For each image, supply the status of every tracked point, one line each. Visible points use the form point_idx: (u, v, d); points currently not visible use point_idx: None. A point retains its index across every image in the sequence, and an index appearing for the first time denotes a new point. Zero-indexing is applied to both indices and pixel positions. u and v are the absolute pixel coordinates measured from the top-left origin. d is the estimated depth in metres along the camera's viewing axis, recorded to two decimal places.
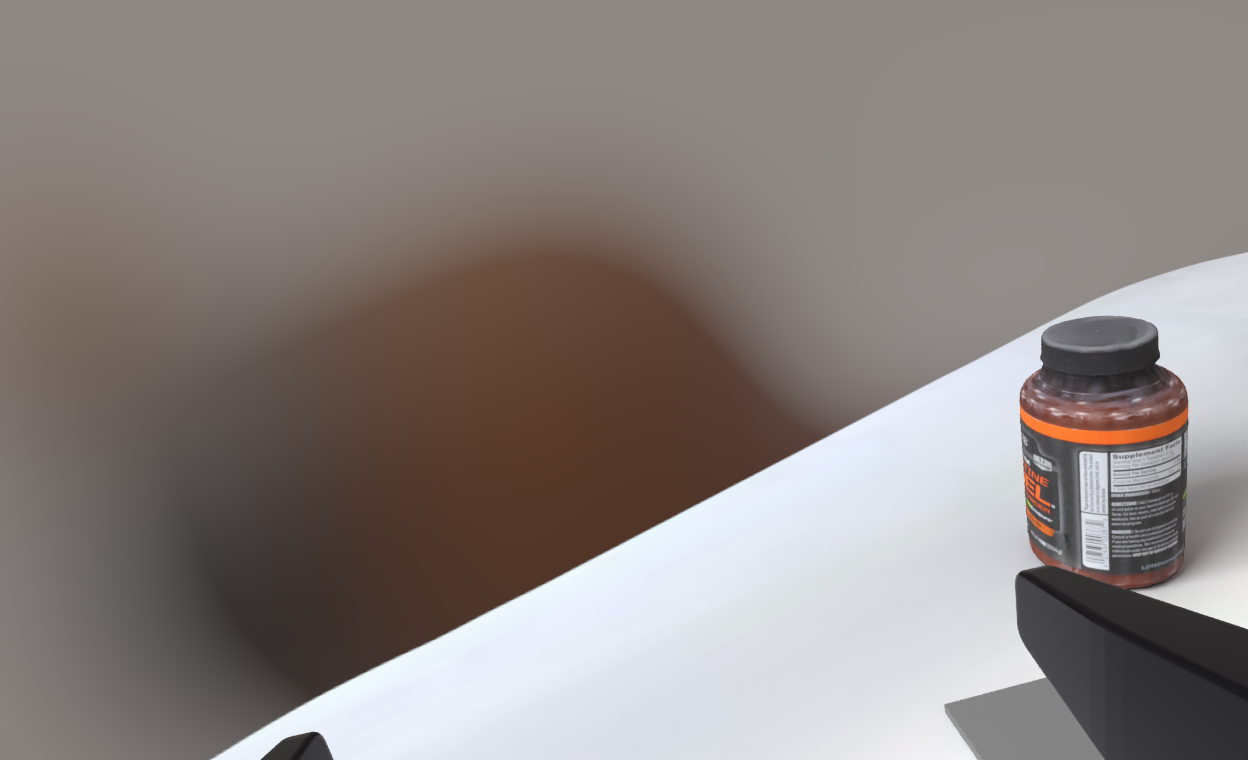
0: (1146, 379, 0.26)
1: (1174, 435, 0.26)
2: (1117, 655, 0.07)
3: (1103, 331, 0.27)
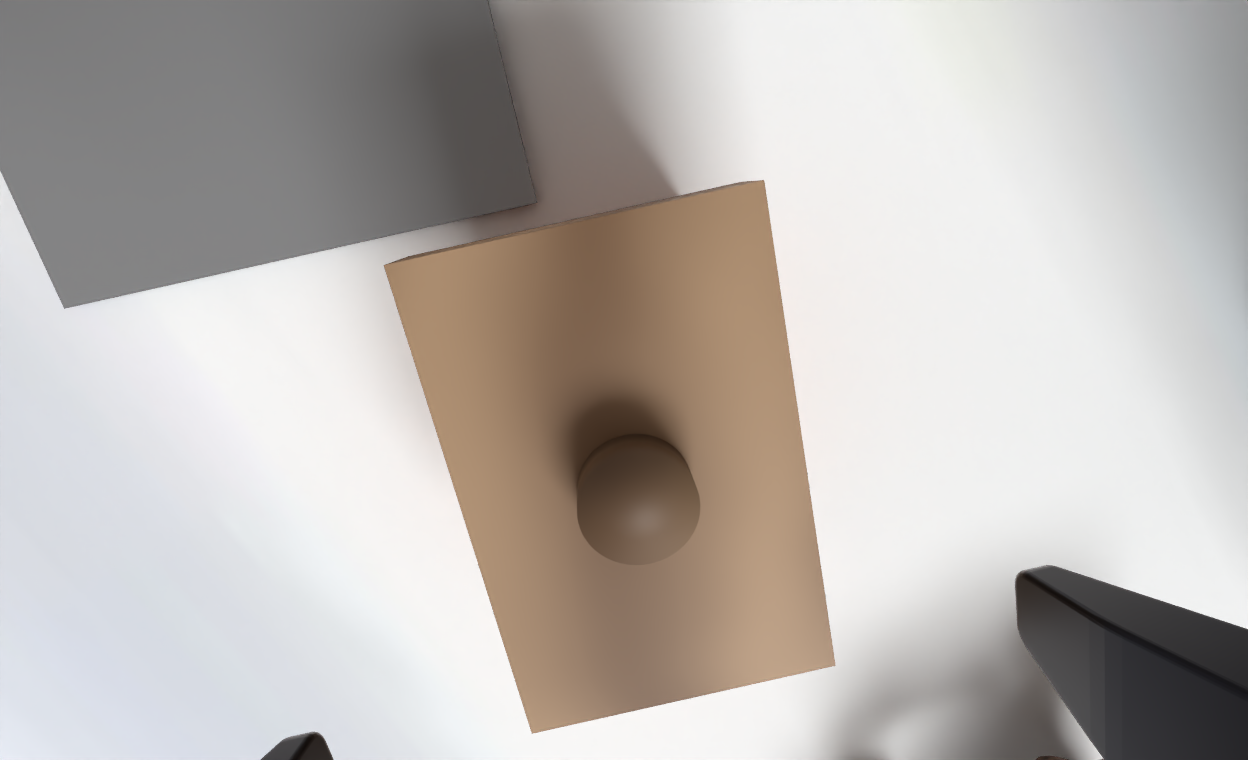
0: None
1: None
2: (1117, 655, 0.07)
3: None
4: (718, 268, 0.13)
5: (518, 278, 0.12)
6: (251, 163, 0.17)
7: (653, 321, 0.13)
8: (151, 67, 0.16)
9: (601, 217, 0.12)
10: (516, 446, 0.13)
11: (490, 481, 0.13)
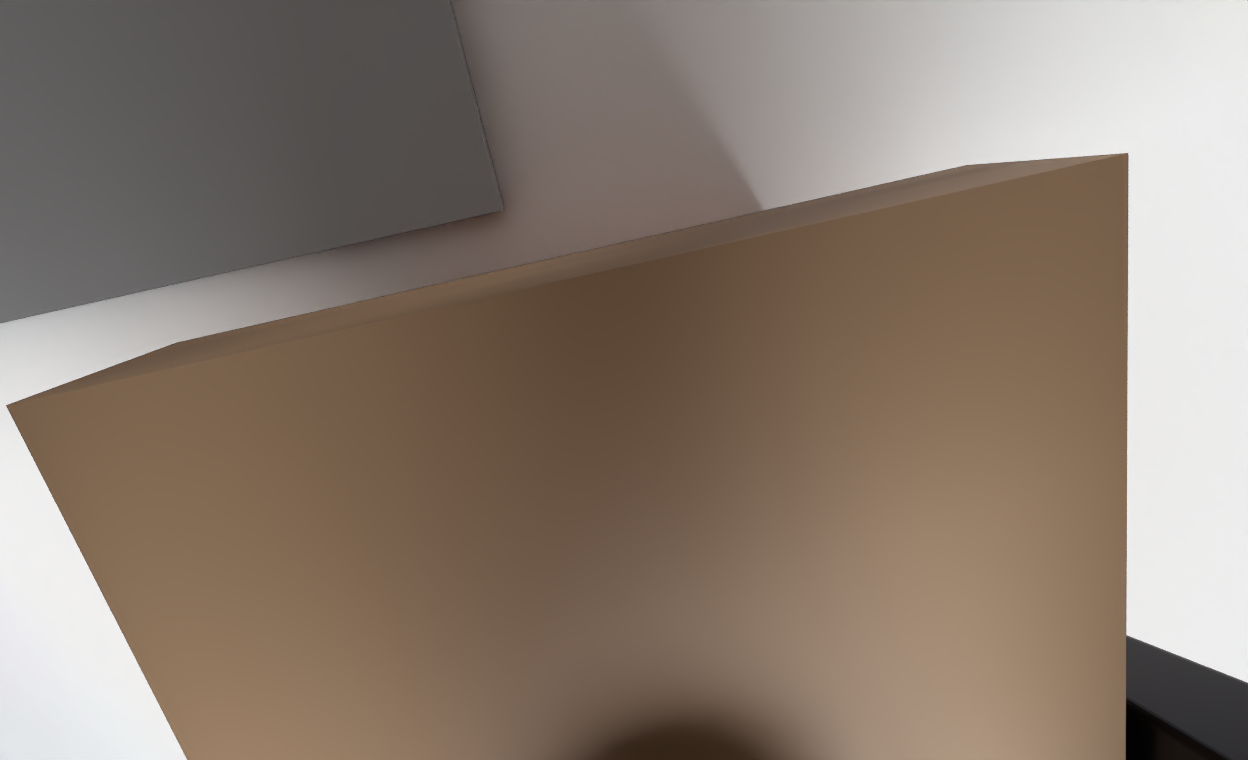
0: None
1: None
2: None
3: None
4: (969, 401, 0.04)
5: (409, 435, 0.04)
6: None
7: (784, 539, 0.05)
8: None
9: (649, 263, 0.04)
10: None
11: None
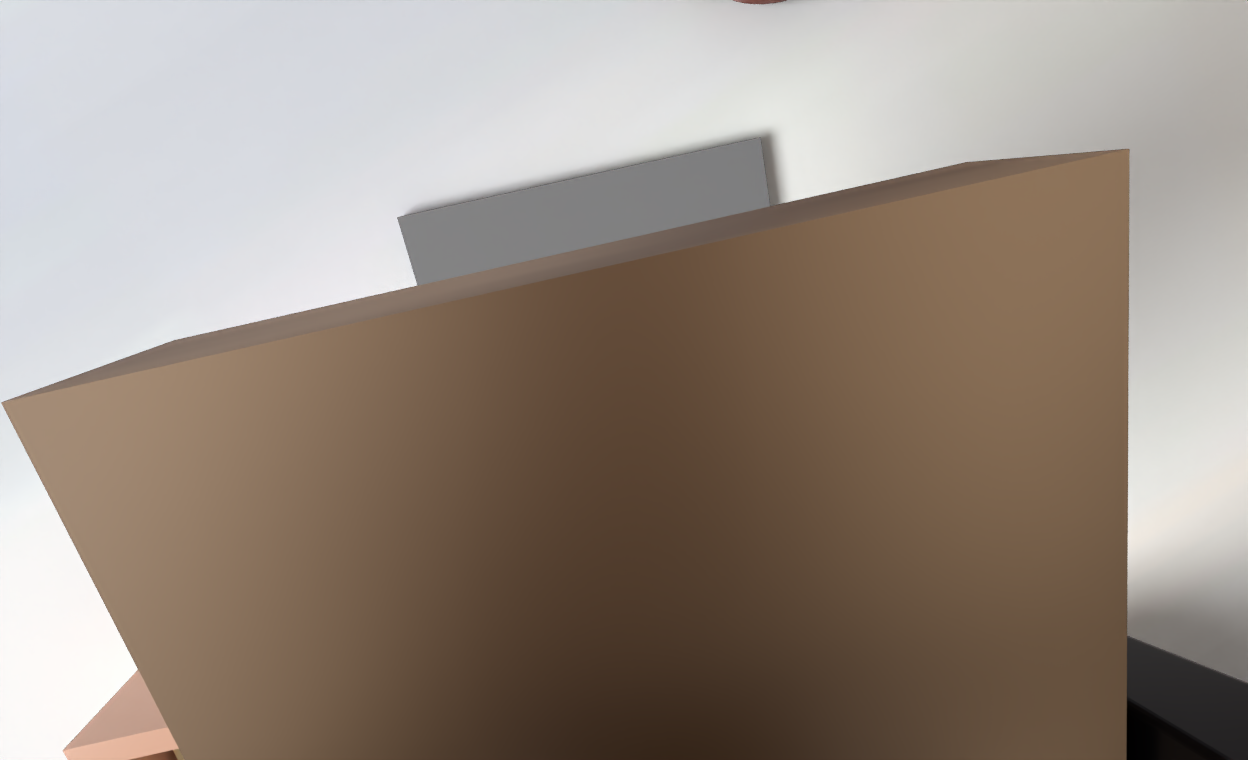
0: None
1: None
2: None
3: None
4: (970, 398, 0.04)
5: (407, 432, 0.04)
6: None
7: (783, 535, 0.05)
8: None
9: (647, 259, 0.04)
10: None
11: None
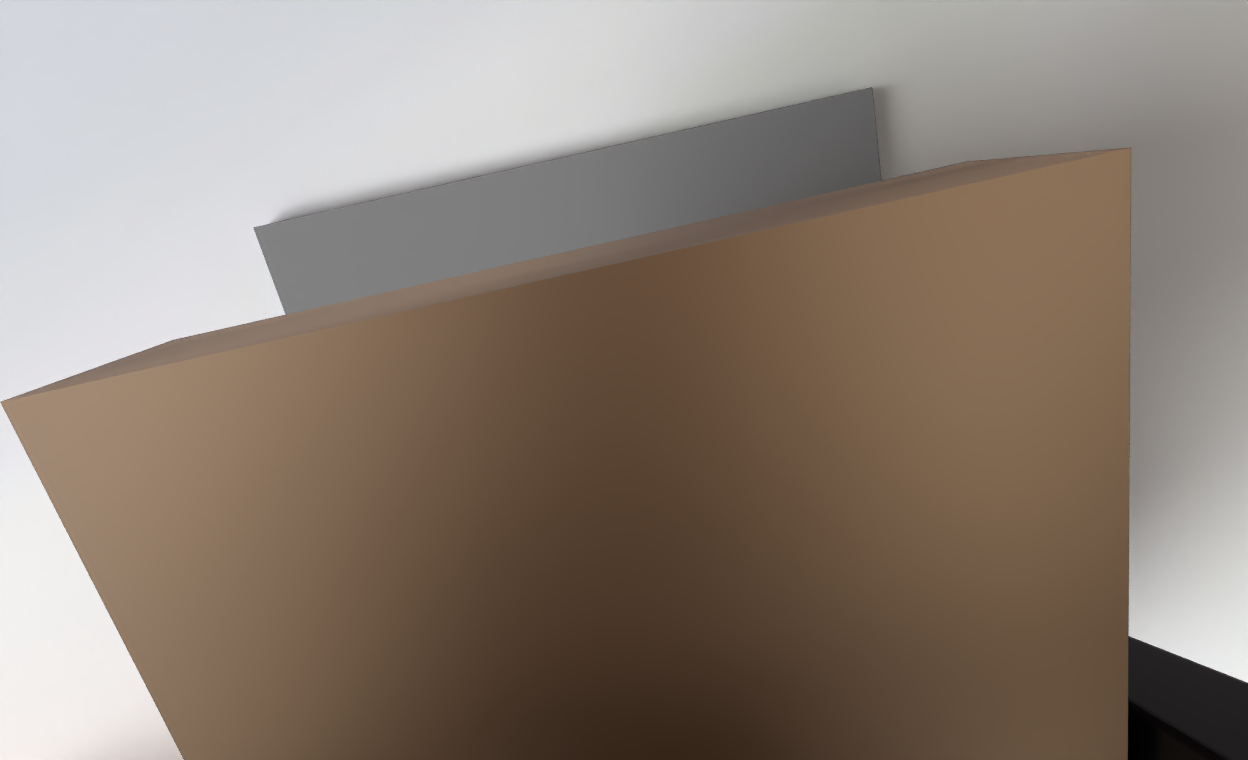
0: None
1: None
2: None
3: None
4: (970, 397, 0.04)
5: (407, 432, 0.04)
6: None
7: (783, 535, 0.05)
8: None
9: (648, 258, 0.04)
10: None
11: None
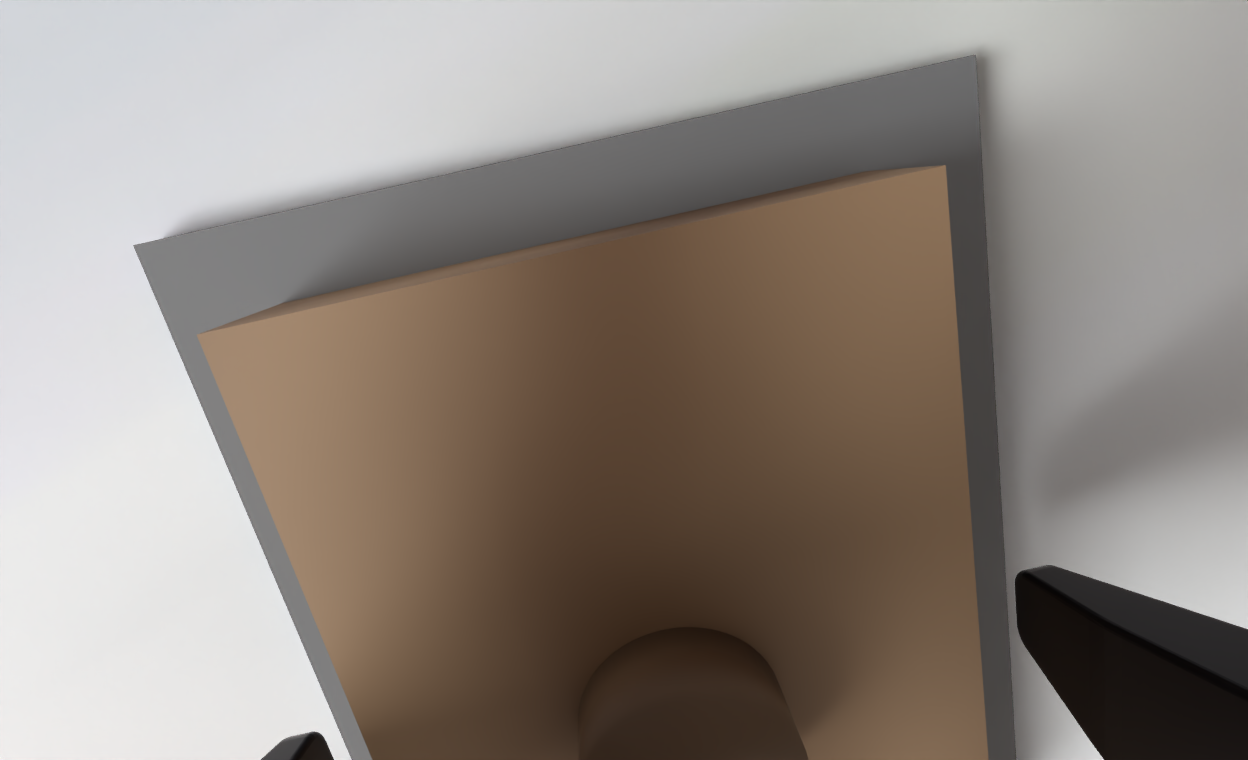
0: None
1: None
2: (1117, 655, 0.07)
3: None
4: (848, 334, 0.07)
5: (464, 357, 0.06)
6: None
7: (722, 431, 0.07)
8: None
9: (625, 239, 0.06)
10: (468, 652, 0.07)
11: (422, 711, 0.07)
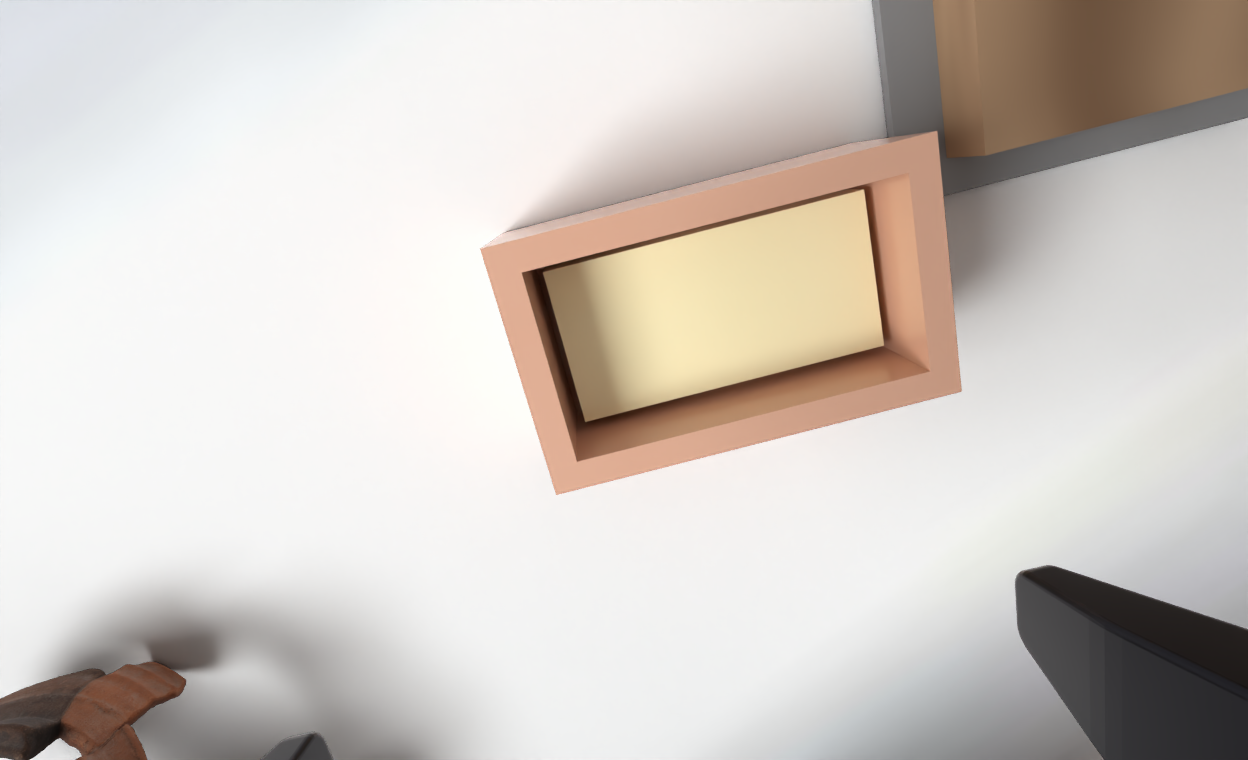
0: None
1: None
2: (1117, 655, 0.07)
3: None
4: None
5: None
6: None
7: None
8: None
9: None
10: None
11: None
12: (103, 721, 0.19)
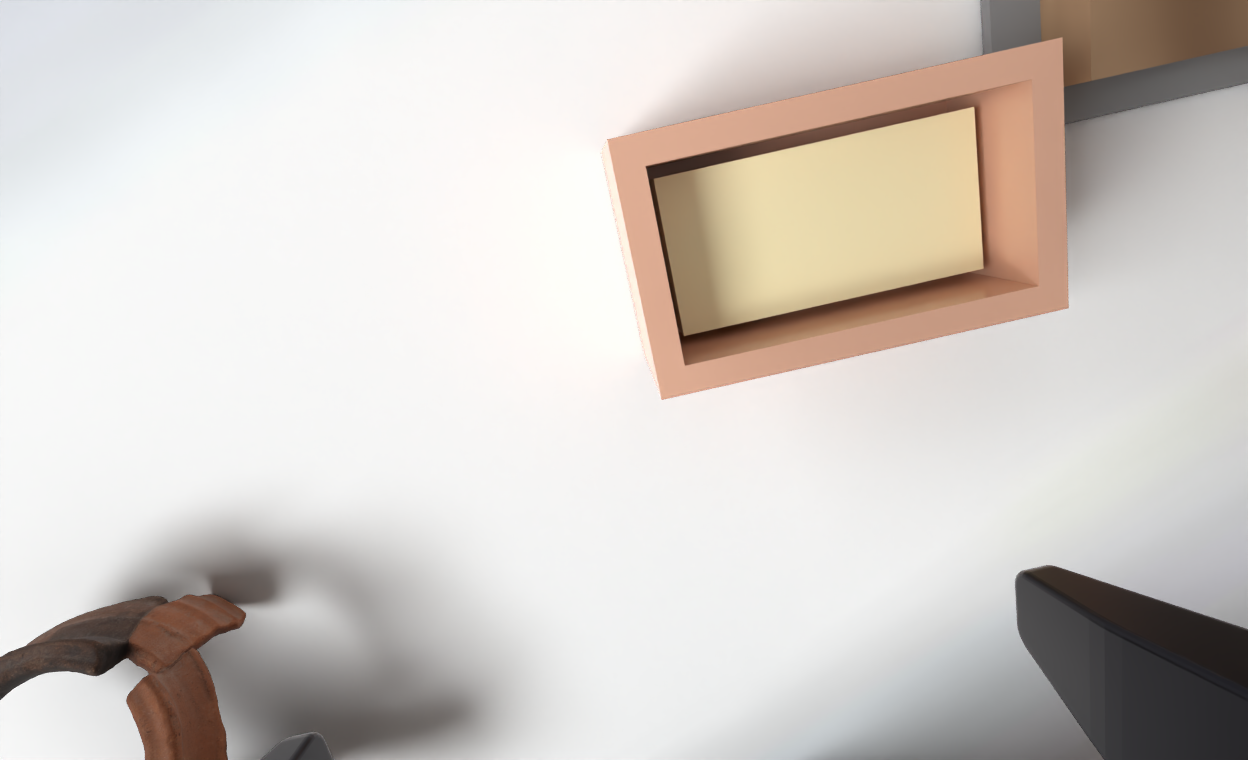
0: None
1: None
2: (1117, 655, 0.07)
3: None
4: None
5: None
6: None
7: None
8: None
9: None
10: None
11: None
12: (170, 643, 0.19)
